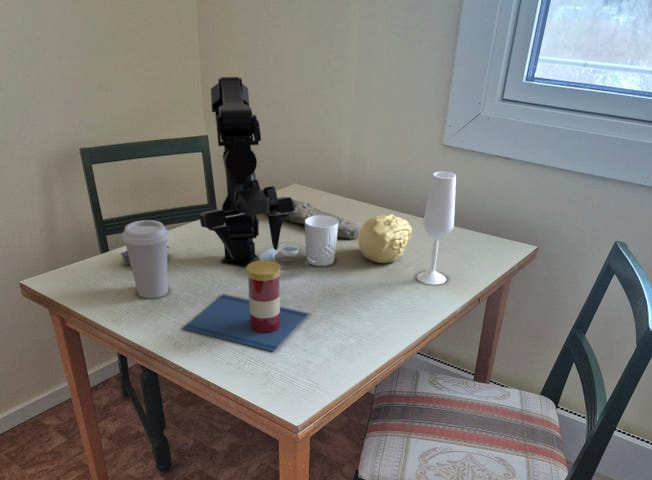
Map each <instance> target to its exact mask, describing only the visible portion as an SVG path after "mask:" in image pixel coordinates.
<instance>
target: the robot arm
mask: <svg viewBox="0 0 652 480" xmlns="http://www.w3.org/2000/svg"><path fill="white" fill-rule="evenodd" d="M217 82H218V83H216V84H214V85H213V86H212V87H211V88H210V103H211V112H212V113H214V116H215V124H216V136H217V145H218V147H223V153H222V160H223V165H224V171H225V177H226V192H227V194H226V197H225V199H224V201H223V203H222V205H221V209H212V210H207V211H202V212H201V213H200V214H199V222H200V226H201V227H202V228H206V229H208V230H209V231H212V232H214V233H215V234H216V235H217V236H218V238H219V239H220V240H221V242H222V244H223V247H224V257H223V258H222V259H221V262H222V263H224V264H230V265H233V266H235V265H236V266H239V267H247V266H248V265H249V264H250V263H252V262H254V260H255V259H256V258H257V257H258V256H257V254H256V243H255V241H254V239H257V237H258V236H259V235H260V234H259V233H260V232H259V230H260V229H259V227H260V218H259V217H258V215H267V218H268V219H267V220H268V226H269V231H270V238H271V244H272V248H273V250H274V251H278V248H279V242H280V235H281V231H282V228H283V227H282V226H283V223H284V221H286V220H285V218H286V217H289V216H290V214H288V213H287V212H292V211H295V205H294V201H293V198H292V197H290V196H280V197H278V192H277V188H276V187H275V186H274V185H271V186H270V185H269V186H266V187H265V186H264V188H263V189H262V188H261V186H260V182H259V179H257V177H256V176H257V175H256V168H257V166H258V165H257V164H258V161H257V157H256V154H255V153H254V151H253V150H252V146H259V143H260V142H261V140H262V135H261V128H260V121H259V120H258V117H257V116H256V114H253V109H252V107H251V106H250V96H249V95H250V94H249V88H248V87H247V86H246V85H245V84H244V83H243V80H242V77H239V76H221V77H220V78H218V79H217ZM269 212H271V214H270V213H269Z"/></svg>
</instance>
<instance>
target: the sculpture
mask: <svg viewBox="0 0 652 480" xmlns="http://www.w3.org/2000/svg"><path fill="white" fill-rule="evenodd" d="M360 229H361V230H360V232H359V236H358V237H357V243H358V248H359V251H360V253H361V254H362V256H363V257H365V258H366V259H368V260H370V261H371V262H375V263H379V264H389V263H393V262H395V261H397V260H399V259H400V258H401V257H402V256H403V253H404V251H405V249H406V247H407V245H408V244H409V243H410V241H411V238H412V232H413V228H412V226H411V225H410V223H409V221H408V220H407V219H405V218H401V217H399V216H396V215H394V214H392V213H390V214H388V215H387V214H386V215H383V214H382V215H375V216H373V217H371V218H369V219H368V220H366V221H365V222H364V223H363V224H362V226H361V227H360Z"/></svg>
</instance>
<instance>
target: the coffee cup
mask: <svg viewBox="0 0 652 480" xmlns="http://www.w3.org/2000/svg"><path fill="white" fill-rule="evenodd" d="M169 236H170V233H169V231H168V229H167V228H166V227H165V225H164V224H163V222H161V221H158V220H152V219H144V220H143V219H142V220H137V221H132V222H129V223H128V224H126V225H125V226H124V230H123V232H122V235H121V240H122V242H124V243H125V247H126V250H127V251H128V255H129V259H130V263H131V265H130V267H131V271H132V275H133V280H134V283H135V288H136V291H137V295H138V296H139V297H140V298H143V299H156V298H157V299H158V298H161V297H164V296H165V295H166V294H168V292H169V288H168V287H169V285H168V284H169V281H168V279H169V278H168V258H167V257H168V256H167V252H168V248H167V246H168V238H169Z"/></svg>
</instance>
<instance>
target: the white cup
mask: <svg viewBox="0 0 652 480" xmlns="http://www.w3.org/2000/svg"><path fill="white" fill-rule="evenodd" d="M337 232H338V220H337V219H335V218H333V217H330V216H322V215H319V216H312V217H309V218H307V219H306V220H305V225H304V235H305V236H304V239H305V249H306V250H305V251H306V253H305V254H306V255H307V257H308V258H309V259H311V260H312V261H315V262H312V261H310V260H308V259H307V257H306V262H307V263H308V264H310V265H311V266H317V267H325V266H330V265H332V264H334V263H335V258H336V250H337V243H338V241H337V240H338V236H337Z"/></svg>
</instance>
